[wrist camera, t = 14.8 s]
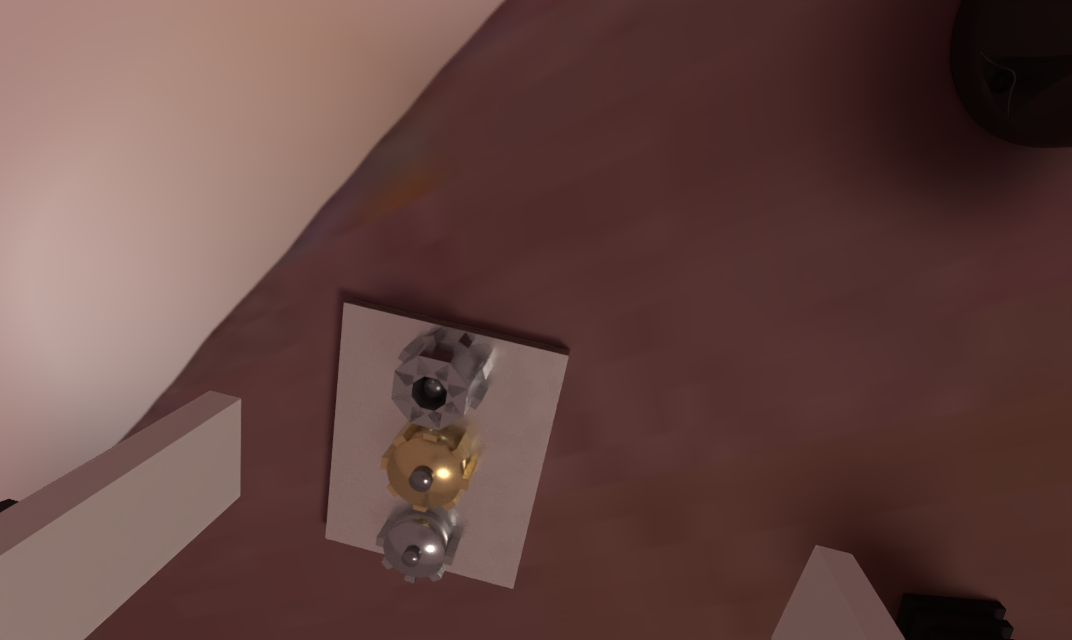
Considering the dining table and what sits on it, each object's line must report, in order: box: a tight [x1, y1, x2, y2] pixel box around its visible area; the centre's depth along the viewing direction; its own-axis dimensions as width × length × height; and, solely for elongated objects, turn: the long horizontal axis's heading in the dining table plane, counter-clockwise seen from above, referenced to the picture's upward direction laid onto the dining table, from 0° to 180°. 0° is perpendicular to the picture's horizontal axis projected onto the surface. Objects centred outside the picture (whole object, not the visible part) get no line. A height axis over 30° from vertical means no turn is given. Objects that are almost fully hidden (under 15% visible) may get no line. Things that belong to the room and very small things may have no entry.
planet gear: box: [391, 326, 492, 430], centre depth 42 cm, size 8×8×5 cm
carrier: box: [326, 298, 570, 589], centre depth 46 cm, size 26×20×6 cm
